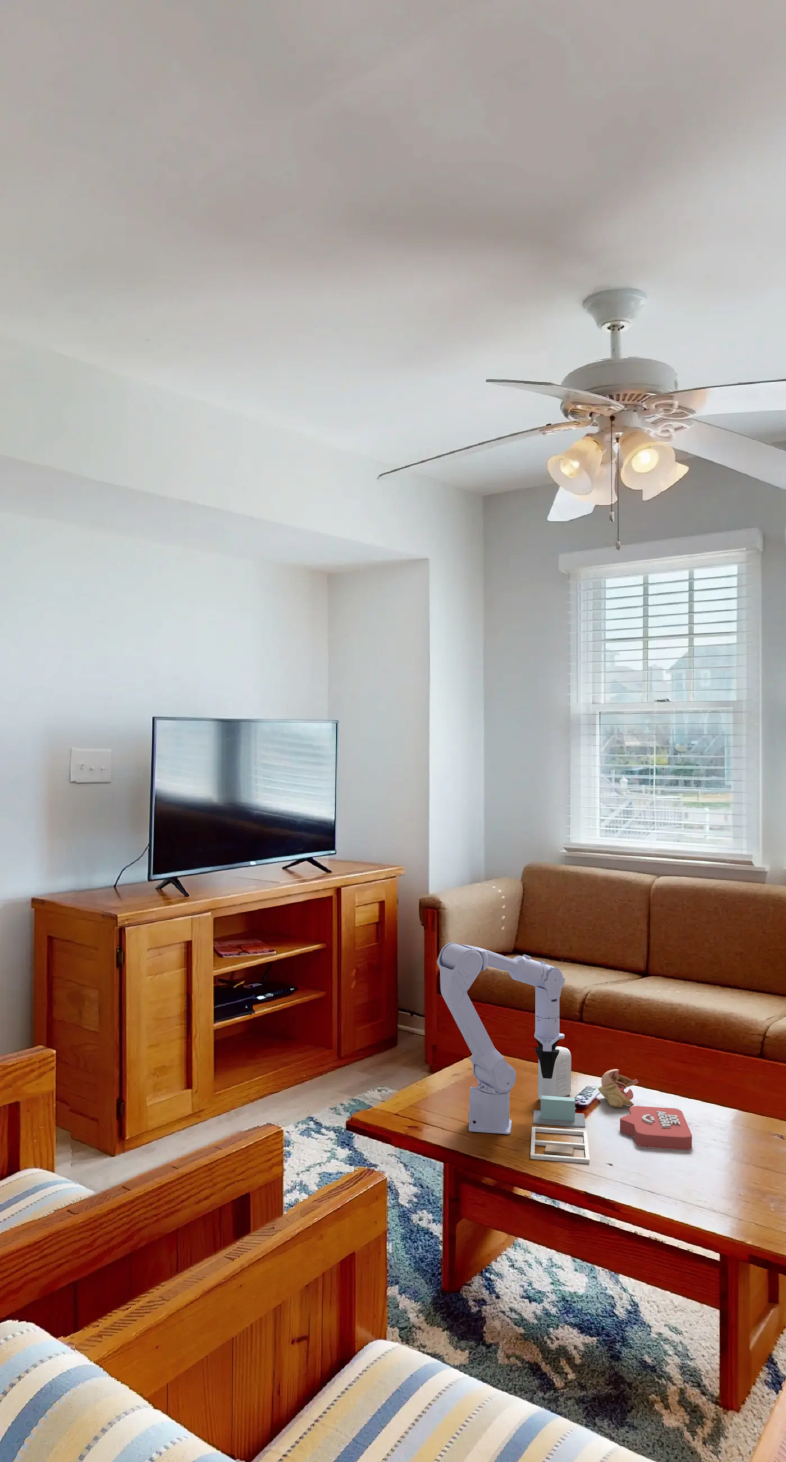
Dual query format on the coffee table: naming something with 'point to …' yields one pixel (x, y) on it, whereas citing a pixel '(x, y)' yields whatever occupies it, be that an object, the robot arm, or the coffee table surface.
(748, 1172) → the coffee table surface
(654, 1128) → the plaque
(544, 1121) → the mat
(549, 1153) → the offcut stack
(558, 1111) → the pale teal block
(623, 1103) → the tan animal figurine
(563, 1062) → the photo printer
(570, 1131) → the rack
